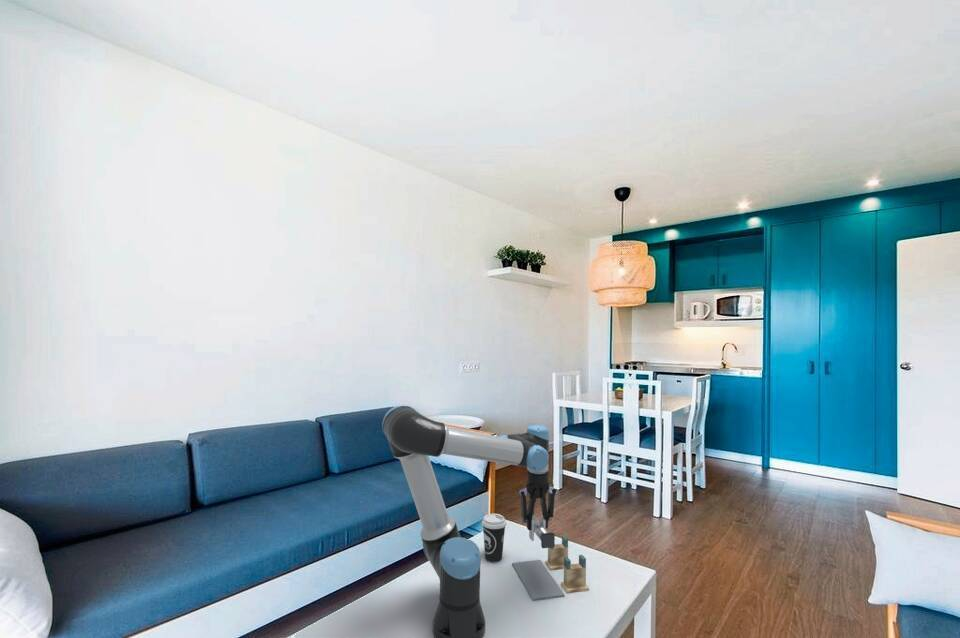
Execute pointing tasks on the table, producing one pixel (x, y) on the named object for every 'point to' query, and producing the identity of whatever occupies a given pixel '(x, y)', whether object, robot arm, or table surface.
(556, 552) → the post far
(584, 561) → the post near
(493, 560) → the coffee cup
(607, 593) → the table surface
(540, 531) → the rail
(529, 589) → the pad
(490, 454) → the robot arm
